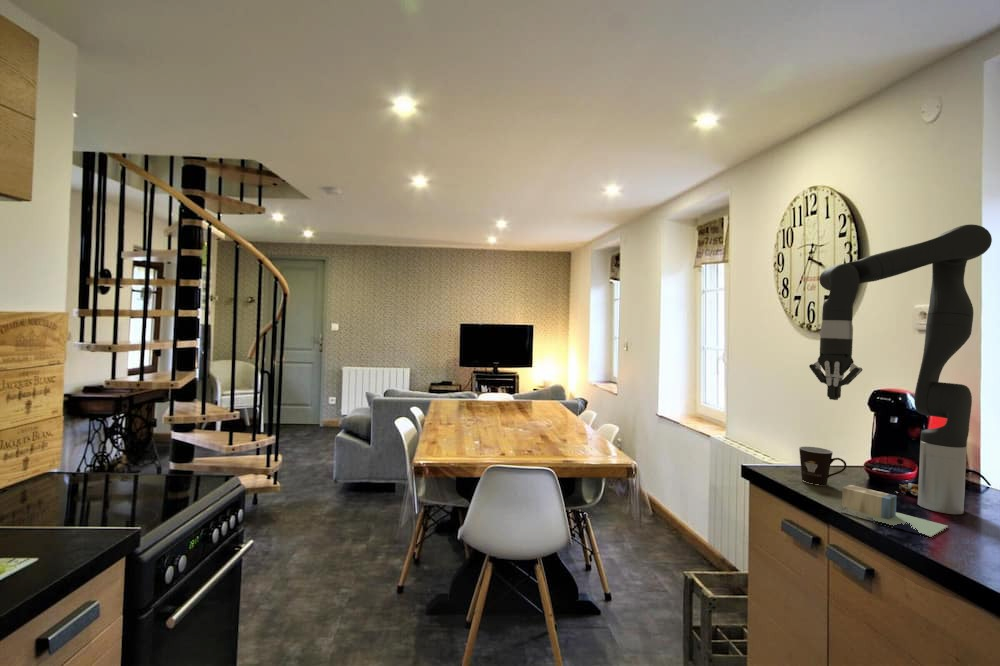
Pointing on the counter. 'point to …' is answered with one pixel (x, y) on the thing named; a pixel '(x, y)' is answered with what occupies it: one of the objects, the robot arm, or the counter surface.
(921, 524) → the green mat
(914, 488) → the wrapped sandwich
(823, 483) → the coffee mug
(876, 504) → the maple block
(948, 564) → the counter surface
